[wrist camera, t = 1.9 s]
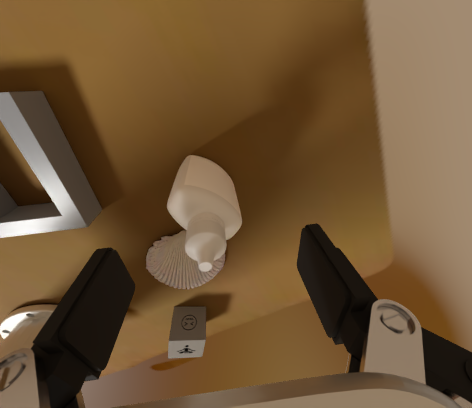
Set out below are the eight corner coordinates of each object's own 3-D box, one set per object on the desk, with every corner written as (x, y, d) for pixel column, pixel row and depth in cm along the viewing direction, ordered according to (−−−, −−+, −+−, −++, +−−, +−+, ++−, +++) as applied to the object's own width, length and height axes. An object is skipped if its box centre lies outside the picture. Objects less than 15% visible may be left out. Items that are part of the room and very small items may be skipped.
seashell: (229, 239, 21) (227, 310, 25) (224, 219, 27) (223, 280, 30) (129, 243, 20) (140, 319, 23) (144, 221, 25) (152, 286, 28)
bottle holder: (102, 209, 21) (87, 227, 18) (12, 220, 20) (-16, 239, 18) (42, 90, 15) (8, 91, 13) (-86, 100, 15) (-149, 103, 12)
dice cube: (173, 323, 33) (168, 358, 29) (174, 306, 31) (168, 340, 27) (202, 323, 34) (202, 356, 30) (206, 306, 32) (205, 339, 28)
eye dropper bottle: (213, 141, 19) (219, 210, 8) (237, 189, 22) (262, 282, 11) (173, 161, 19) (133, 247, 9) (201, 205, 22) (195, 307, 12)
